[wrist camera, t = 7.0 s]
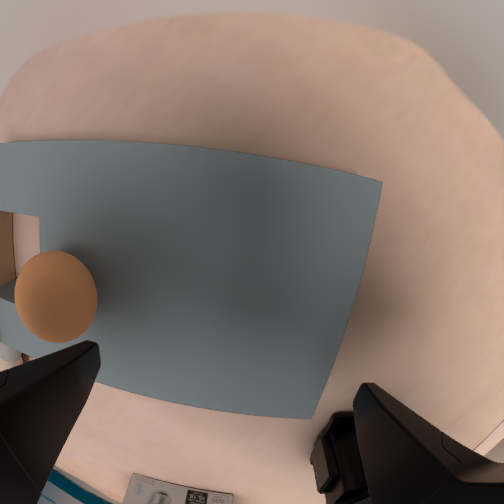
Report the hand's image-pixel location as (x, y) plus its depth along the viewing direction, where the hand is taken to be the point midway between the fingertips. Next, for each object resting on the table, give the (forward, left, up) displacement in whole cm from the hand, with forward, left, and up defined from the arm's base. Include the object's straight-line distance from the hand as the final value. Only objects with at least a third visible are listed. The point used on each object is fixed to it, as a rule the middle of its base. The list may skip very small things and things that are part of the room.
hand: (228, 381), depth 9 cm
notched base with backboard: (+6, 0, -7) cm, 9 cm away
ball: (+8, 0, -2) cm, 8 cm away
